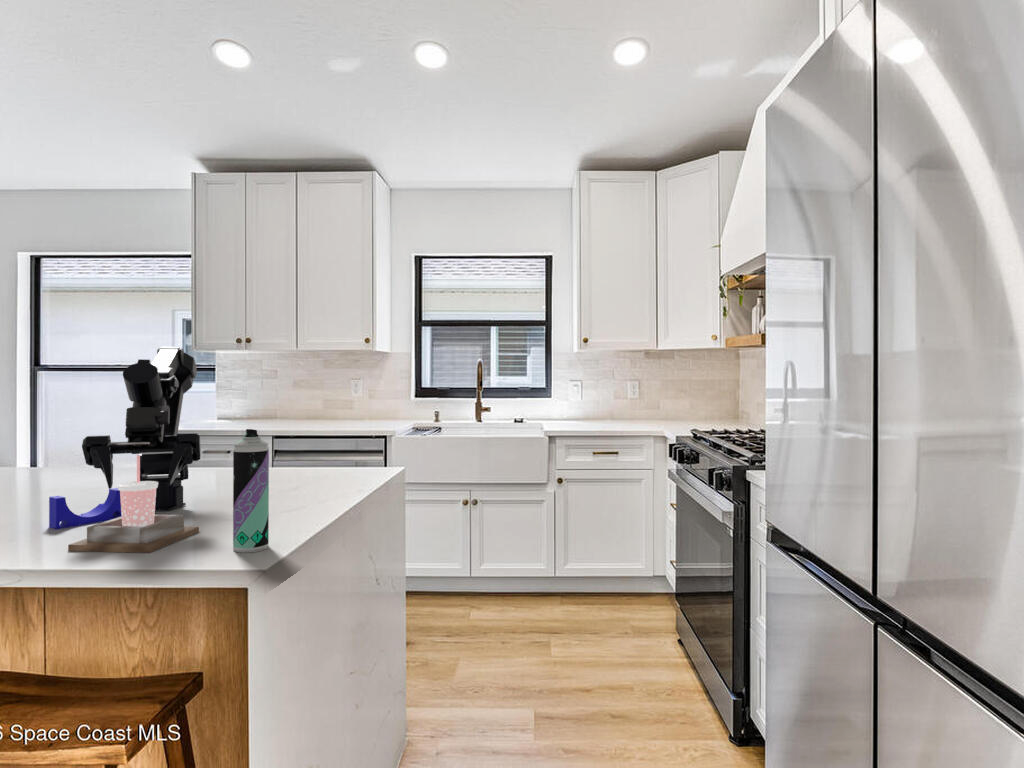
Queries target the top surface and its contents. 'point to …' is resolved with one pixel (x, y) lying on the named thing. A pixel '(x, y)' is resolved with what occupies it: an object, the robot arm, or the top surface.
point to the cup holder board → (134, 535)
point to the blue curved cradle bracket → (98, 514)
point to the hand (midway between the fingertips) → (139, 485)
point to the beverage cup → (138, 501)
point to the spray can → (250, 493)
